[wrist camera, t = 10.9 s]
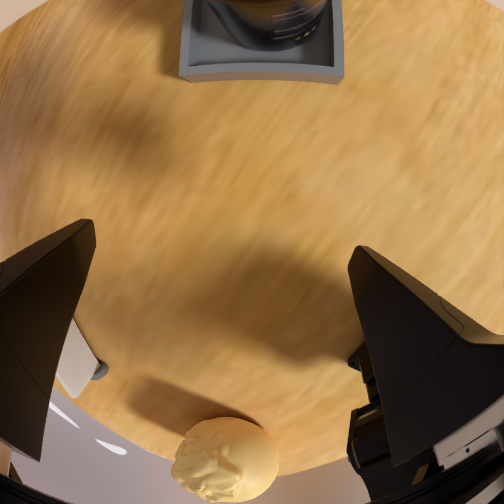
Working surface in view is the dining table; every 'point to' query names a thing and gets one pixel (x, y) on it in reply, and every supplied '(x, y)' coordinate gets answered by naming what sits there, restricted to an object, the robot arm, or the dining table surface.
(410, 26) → the dining table surface
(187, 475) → the sculpture
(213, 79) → the holder tray
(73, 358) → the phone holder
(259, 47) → the supplement bottle
